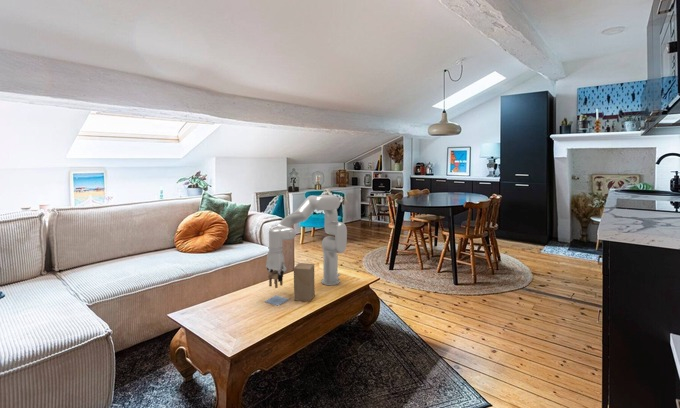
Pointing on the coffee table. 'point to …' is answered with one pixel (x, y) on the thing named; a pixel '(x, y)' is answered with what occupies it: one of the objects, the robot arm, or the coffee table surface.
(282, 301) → the mat
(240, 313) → the coffee table surface
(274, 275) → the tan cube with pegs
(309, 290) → the wooden block
